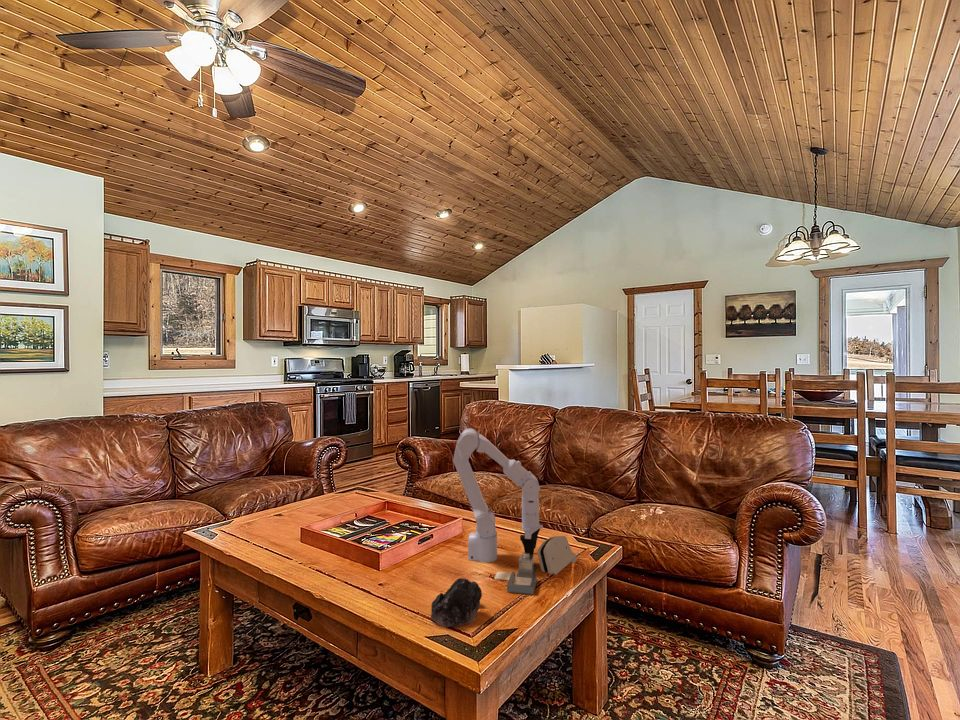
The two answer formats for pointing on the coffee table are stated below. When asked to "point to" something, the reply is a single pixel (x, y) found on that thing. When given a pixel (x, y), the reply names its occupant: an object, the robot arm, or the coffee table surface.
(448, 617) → the black rock
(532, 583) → the flange rail
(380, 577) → the coffee table surface
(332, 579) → the coffee table surface
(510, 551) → the coffee table surface
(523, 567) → the block
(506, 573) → the pad
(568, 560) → the grey rounded housing
